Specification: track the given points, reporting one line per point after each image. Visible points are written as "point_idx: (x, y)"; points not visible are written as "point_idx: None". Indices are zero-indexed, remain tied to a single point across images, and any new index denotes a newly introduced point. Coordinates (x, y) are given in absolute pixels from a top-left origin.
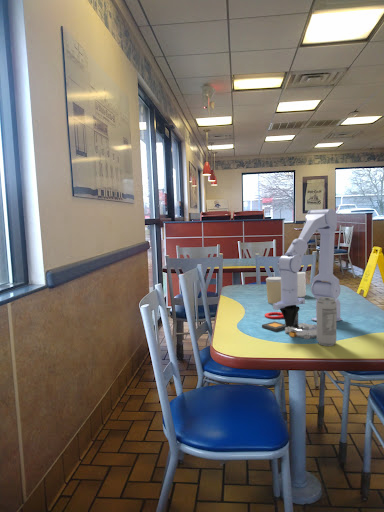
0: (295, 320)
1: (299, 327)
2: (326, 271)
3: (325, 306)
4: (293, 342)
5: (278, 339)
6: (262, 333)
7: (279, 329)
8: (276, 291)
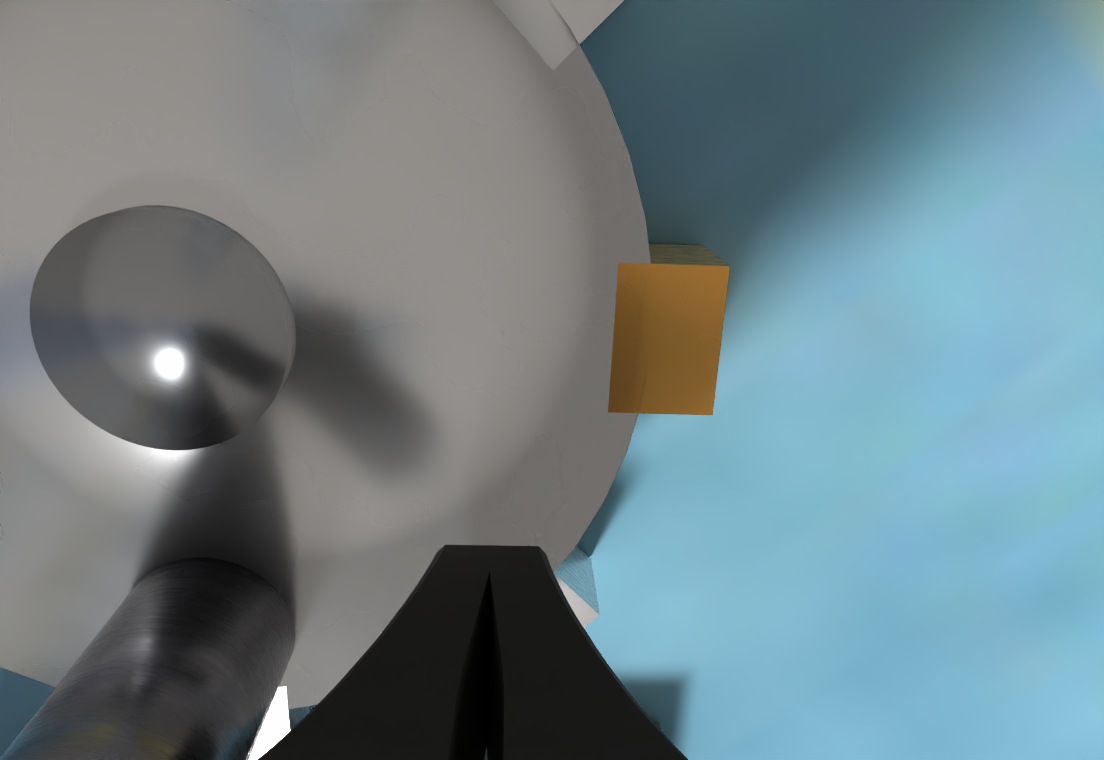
0: (197, 693)
1: (219, 481)
2: None
3: None
4: (1040, 3)
5: (1051, 380)
6: None
7: None
8: None
